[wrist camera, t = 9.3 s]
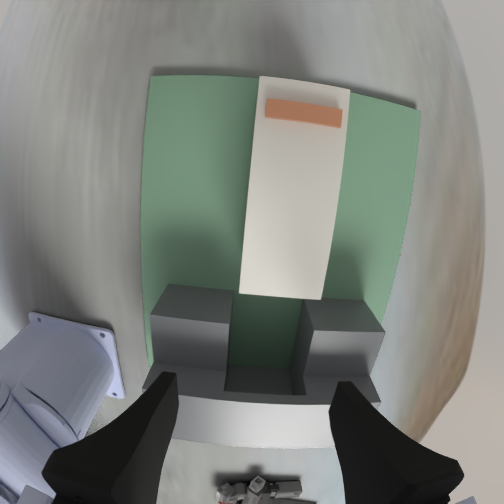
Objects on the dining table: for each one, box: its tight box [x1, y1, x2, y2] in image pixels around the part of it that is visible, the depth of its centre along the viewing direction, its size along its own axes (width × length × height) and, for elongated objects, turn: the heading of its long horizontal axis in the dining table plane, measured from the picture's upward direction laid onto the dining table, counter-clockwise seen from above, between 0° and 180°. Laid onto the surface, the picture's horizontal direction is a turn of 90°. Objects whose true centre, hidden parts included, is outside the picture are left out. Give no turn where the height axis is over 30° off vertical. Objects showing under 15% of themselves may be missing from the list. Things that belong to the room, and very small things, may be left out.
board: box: [141, 75, 421, 368], centre depth 20 cm, size 18×22×1 cm
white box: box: [239, 76, 350, 300], centre depth 16 cm, size 4×10×6 cm, turn 175°
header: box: [142, 284, 385, 448], centre depth 19 cm, size 14×8×8 cm, turn 85°
